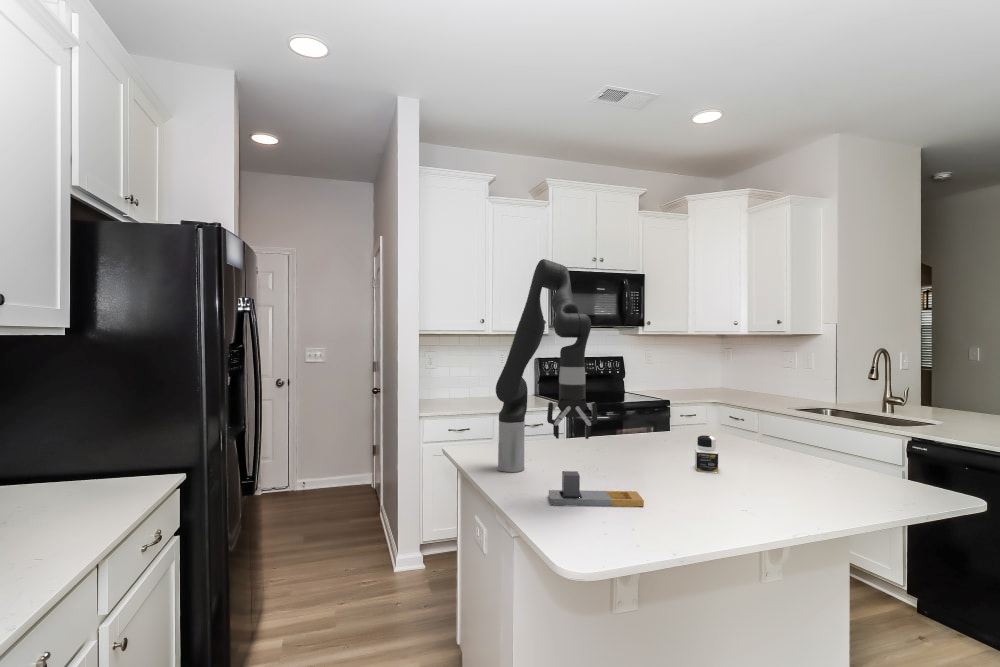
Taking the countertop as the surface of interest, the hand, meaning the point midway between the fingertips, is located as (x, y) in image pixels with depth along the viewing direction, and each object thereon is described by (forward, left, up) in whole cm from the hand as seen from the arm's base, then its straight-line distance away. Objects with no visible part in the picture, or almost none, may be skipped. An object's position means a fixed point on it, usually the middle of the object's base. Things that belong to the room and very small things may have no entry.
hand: (572, 438), depth 145 cm
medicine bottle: (+53, +36, -18) cm, 66 cm away
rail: (+7, 0, -18) cm, 19 cm away
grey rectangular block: (0, 0, -18) cm, 18 cm away
